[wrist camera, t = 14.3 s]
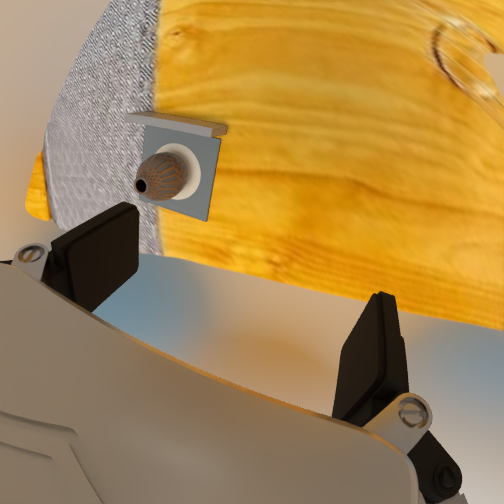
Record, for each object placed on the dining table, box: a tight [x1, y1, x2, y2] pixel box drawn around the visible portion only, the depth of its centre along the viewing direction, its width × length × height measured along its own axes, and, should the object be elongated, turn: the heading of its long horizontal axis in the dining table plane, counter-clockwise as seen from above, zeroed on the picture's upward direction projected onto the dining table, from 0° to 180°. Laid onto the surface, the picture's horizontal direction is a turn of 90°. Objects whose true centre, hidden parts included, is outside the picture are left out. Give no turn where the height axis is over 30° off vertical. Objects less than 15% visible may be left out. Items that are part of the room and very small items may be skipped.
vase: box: [134, 152, 188, 201], centre depth 39 cm, size 7×7×9 cm
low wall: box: [125, 111, 227, 138], centre depth 37 cm, size 1×14×5 cm, turn 78°
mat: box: [139, 125, 221, 222], centre depth 43 cm, size 13×13×1 cm
